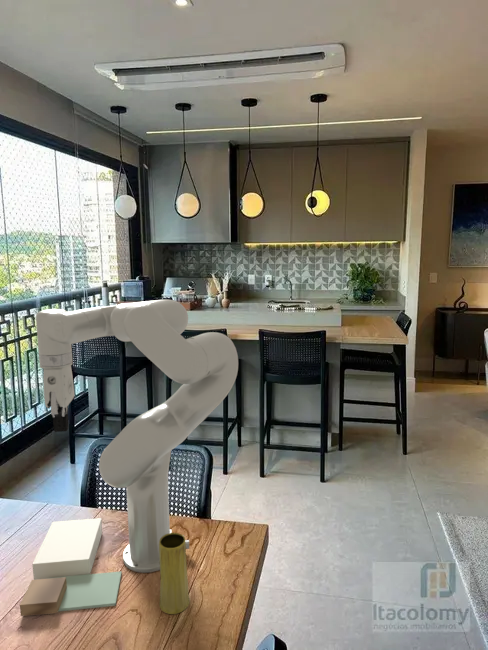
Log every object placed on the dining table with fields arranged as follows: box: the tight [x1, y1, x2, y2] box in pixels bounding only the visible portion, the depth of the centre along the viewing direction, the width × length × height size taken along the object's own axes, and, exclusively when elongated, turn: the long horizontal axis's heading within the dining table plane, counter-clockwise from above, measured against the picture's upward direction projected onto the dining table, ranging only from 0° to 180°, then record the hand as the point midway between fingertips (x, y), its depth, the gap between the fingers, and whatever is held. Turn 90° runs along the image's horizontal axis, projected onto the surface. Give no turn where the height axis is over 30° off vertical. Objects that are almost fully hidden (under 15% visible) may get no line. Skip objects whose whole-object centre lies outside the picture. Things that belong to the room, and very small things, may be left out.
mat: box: [47, 570, 122, 612], centre depth 98 cm, size 16×10×1 cm, turn 97°
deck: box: [31, 517, 103, 580], centre depth 110 cm, size 12×16×4 cm
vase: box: [158, 532, 190, 615], centre depth 94 cm, size 6×6×14 cm
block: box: [19, 577, 67, 617], centre depth 95 cm, size 7×7×2 cm
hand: (61, 430), depth 116 cm, fingers closed
